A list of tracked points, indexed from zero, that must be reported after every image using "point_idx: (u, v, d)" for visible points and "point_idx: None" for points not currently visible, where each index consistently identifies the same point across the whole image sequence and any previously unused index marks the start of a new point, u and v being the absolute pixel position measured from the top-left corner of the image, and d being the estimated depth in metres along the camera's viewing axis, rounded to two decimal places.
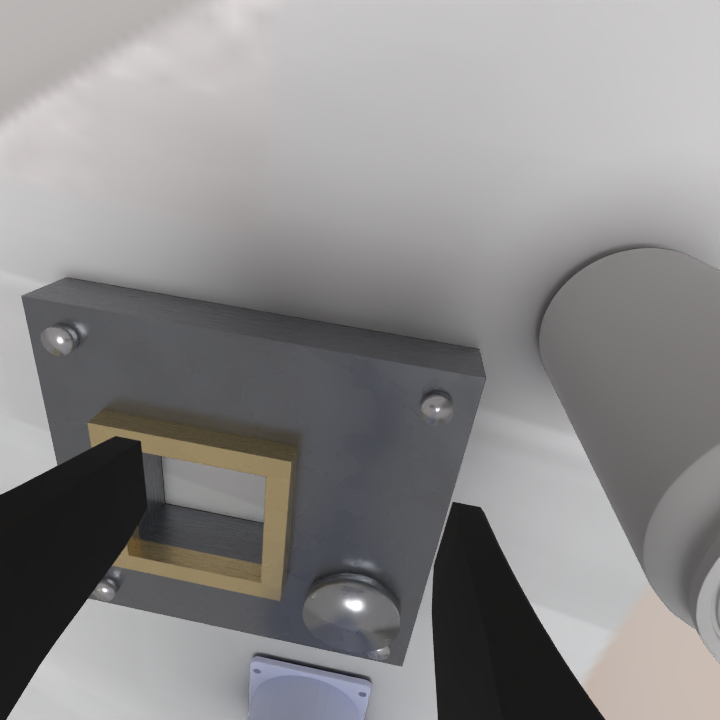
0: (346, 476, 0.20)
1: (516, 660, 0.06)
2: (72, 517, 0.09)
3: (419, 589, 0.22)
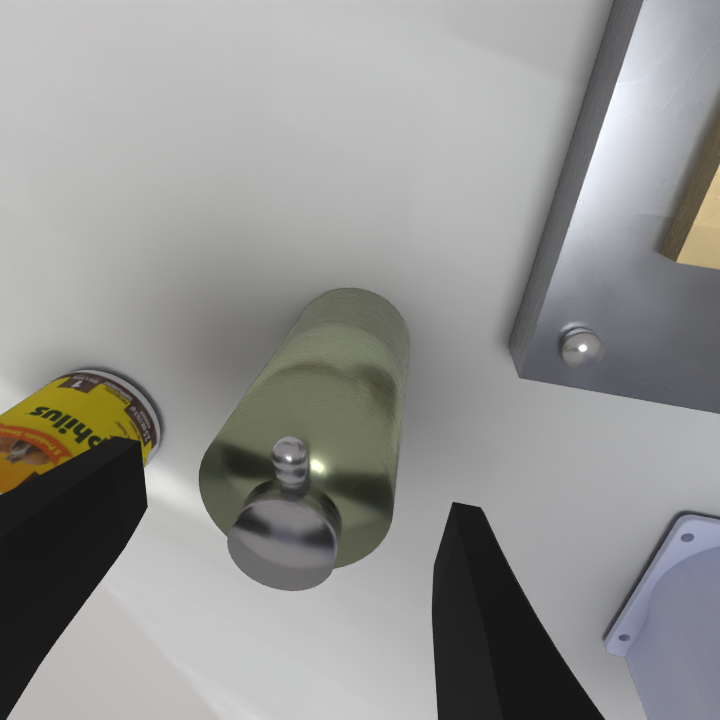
0: None
1: (516, 660, 0.06)
2: (72, 517, 0.09)
3: None
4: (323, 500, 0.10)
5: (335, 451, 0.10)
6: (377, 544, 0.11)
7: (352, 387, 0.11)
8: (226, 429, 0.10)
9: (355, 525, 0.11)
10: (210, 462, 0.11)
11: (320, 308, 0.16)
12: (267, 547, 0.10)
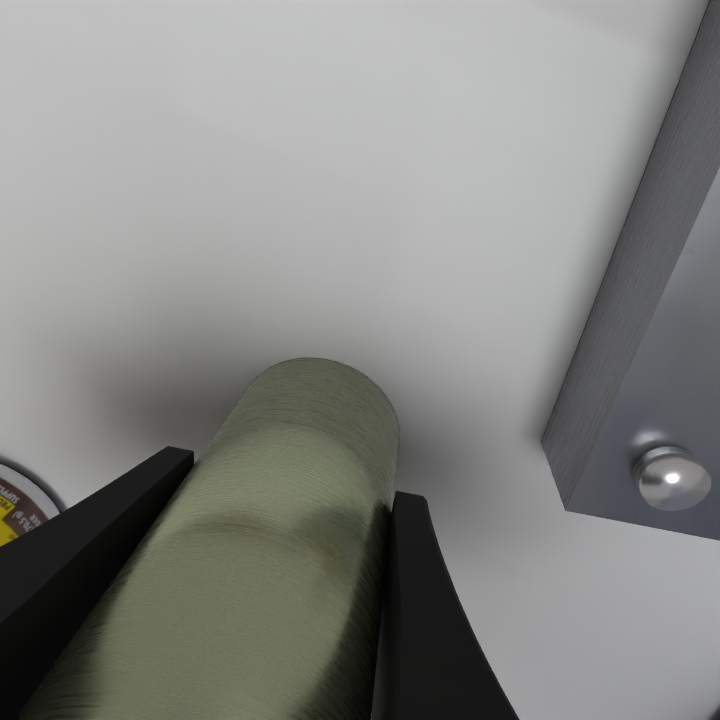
0: None
1: (427, 641, 0.06)
2: (135, 530, 0.09)
3: None
4: None
5: None
6: None
7: (277, 626, 0.06)
8: None
9: None
10: None
11: (261, 402, 0.11)
12: None
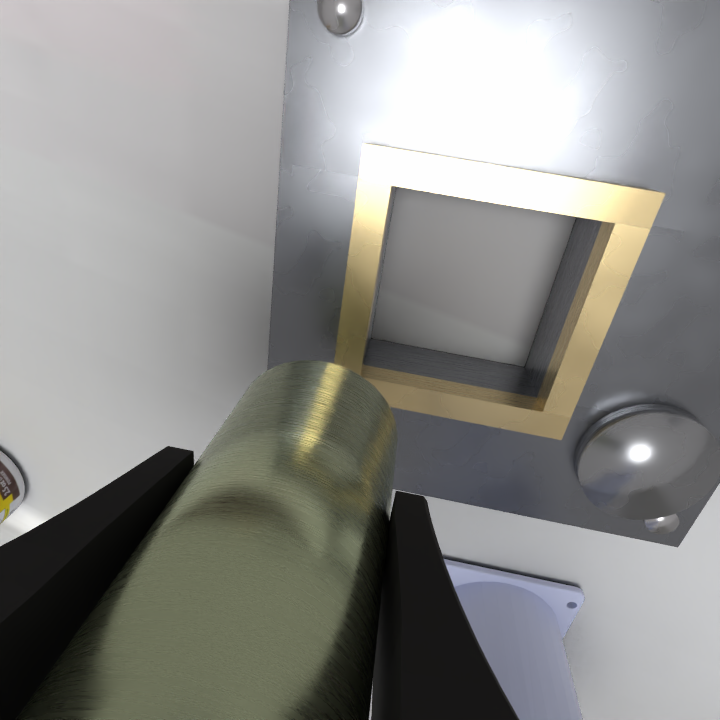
0: (709, 237, 0.14)
1: (427, 641, 0.06)
2: (135, 530, 0.09)
3: None
4: None
5: None
6: None
7: (282, 632, 0.06)
8: None
9: None
10: None
11: (264, 403, 0.11)
12: None
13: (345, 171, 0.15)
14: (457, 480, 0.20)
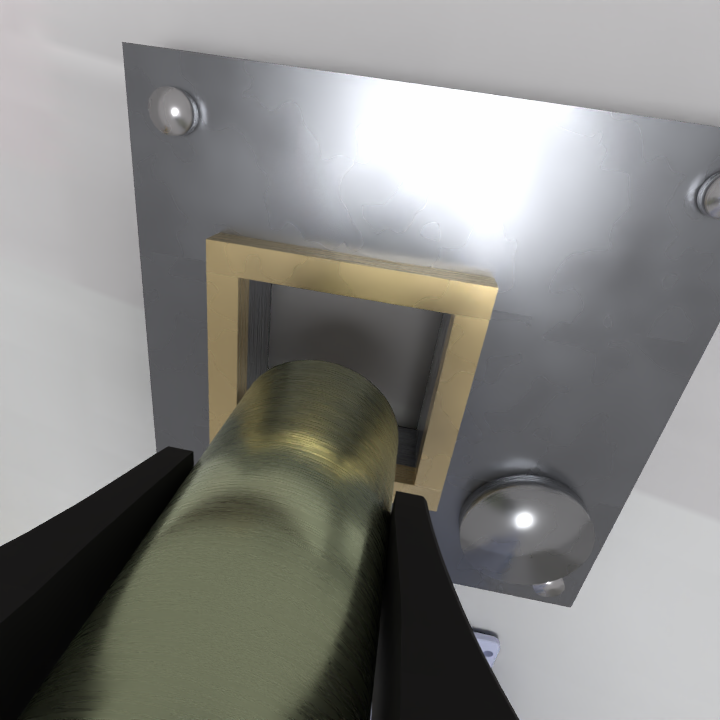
0: (556, 323, 0.14)
1: (427, 641, 0.06)
2: (135, 530, 0.09)
3: (622, 495, 0.17)
4: None
5: None
6: None
7: (284, 633, 0.06)
8: None
9: None
10: None
11: (265, 403, 0.11)
12: None
13: (202, 258, 0.15)
14: None
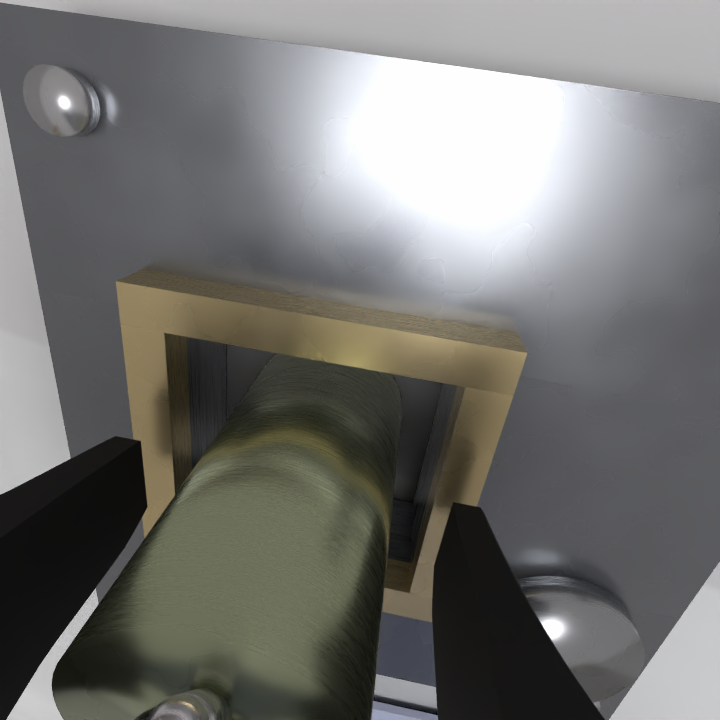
0: (604, 393, 0.11)
1: (516, 660, 0.06)
2: (72, 517, 0.09)
3: (679, 604, 0.13)
4: None
5: (271, 686, 0.06)
6: None
7: (312, 540, 0.07)
8: (88, 637, 0.06)
9: None
10: (68, 675, 0.06)
11: (284, 372, 0.12)
12: None
13: None
14: None
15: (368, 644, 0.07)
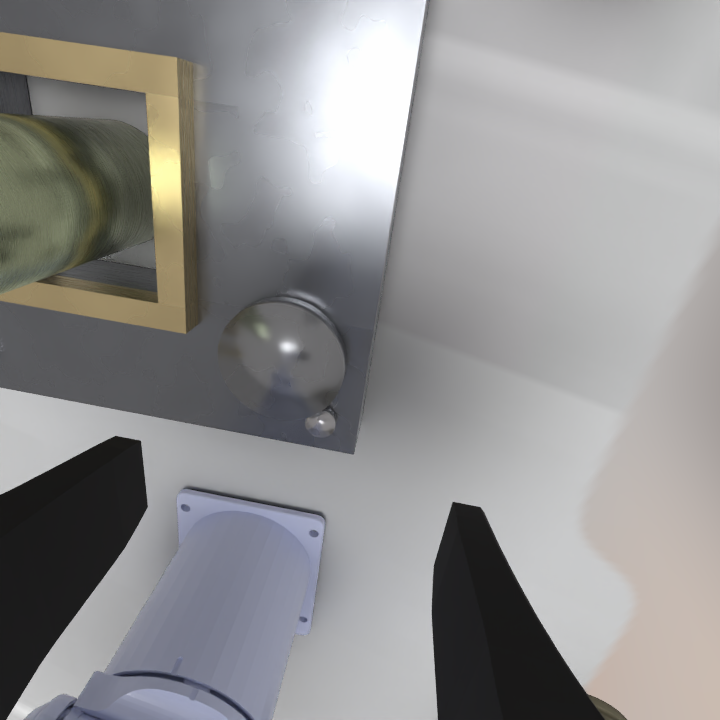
0: (262, 112, 0.14)
1: (516, 660, 0.06)
2: (72, 517, 0.09)
3: (369, 315, 0.17)
4: None
5: None
6: None
7: None
8: None
9: None
10: None
11: None
12: None
13: None
14: (133, 390, 0.20)
15: (5, 184, 0.11)
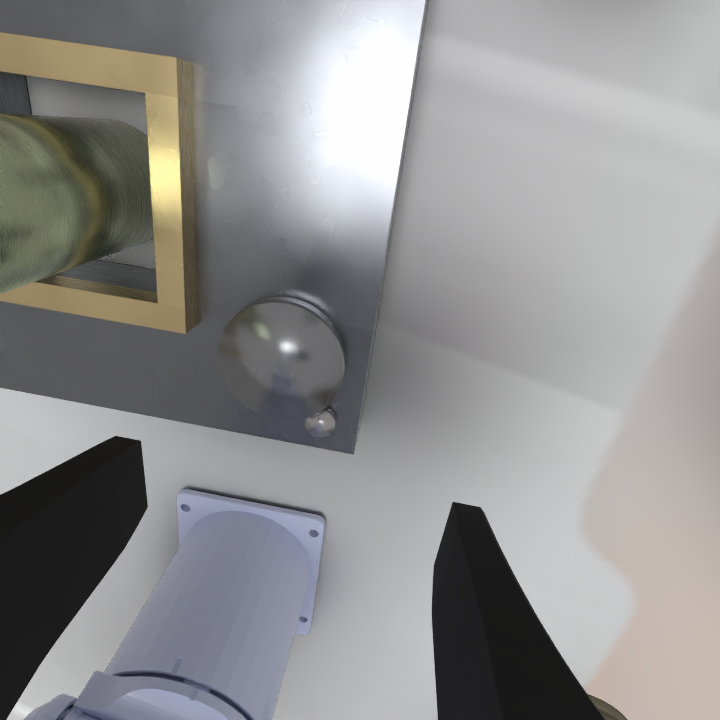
0: (261, 112, 0.14)
1: (516, 660, 0.06)
2: (72, 517, 0.09)
3: (369, 315, 0.17)
4: None
5: None
6: None
7: None
8: None
9: None
10: None
11: None
12: None
13: None
14: (133, 390, 0.20)
15: (4, 185, 0.11)
